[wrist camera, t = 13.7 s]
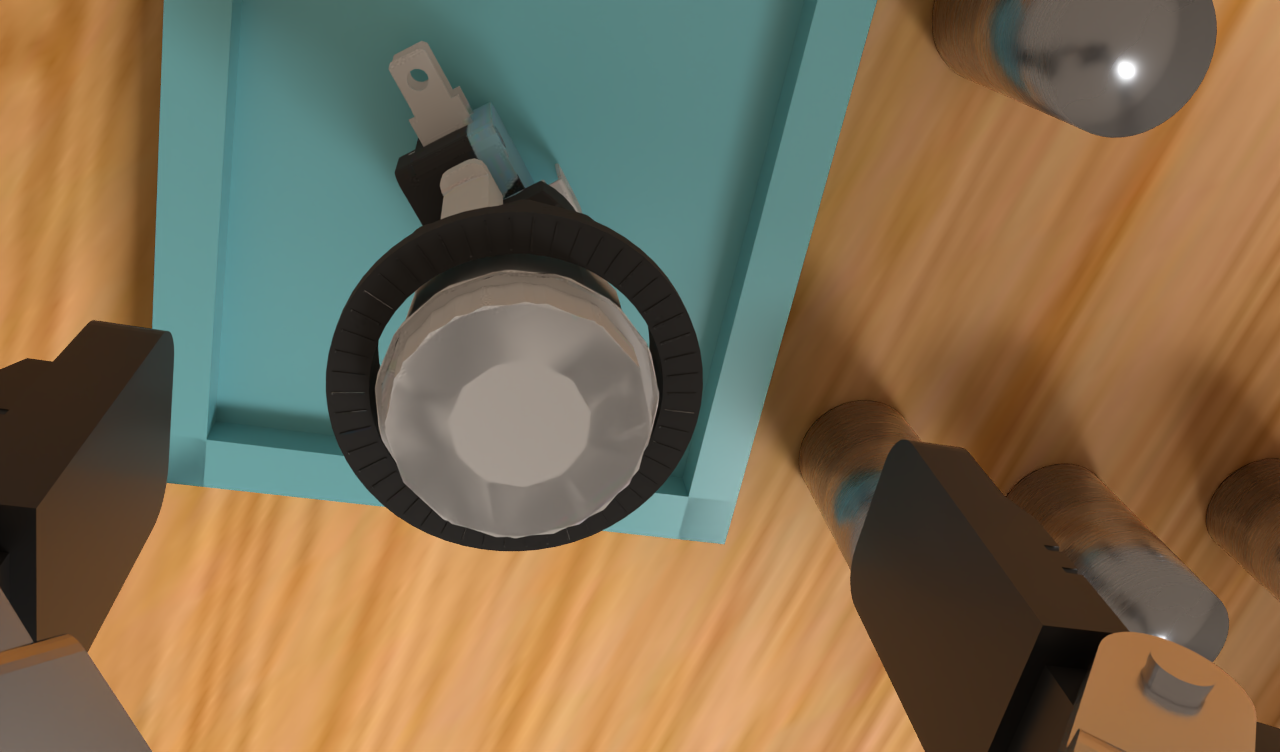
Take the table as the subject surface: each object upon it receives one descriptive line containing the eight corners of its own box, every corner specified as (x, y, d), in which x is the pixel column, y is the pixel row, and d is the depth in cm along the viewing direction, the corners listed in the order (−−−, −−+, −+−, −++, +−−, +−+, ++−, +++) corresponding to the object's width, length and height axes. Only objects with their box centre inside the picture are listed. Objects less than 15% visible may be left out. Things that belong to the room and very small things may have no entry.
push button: (297, 102, 22) (168, 262, 13) (531, -19, 22) (562, 60, 13) (459, 365, 25) (444, 645, 16) (668, 263, 25) (774, 490, 16)
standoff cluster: (1536, 62, 26) (1783, 109, 21) (1265, 585, 32) (1409, 717, 27) (957, -76, 23) (1087, -60, 18) (776, 529, 29) (836, 666, 24)
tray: (888, -131, 22) (913, -131, 21) (713, 511, 28) (724, 543, 27) (195, -302, 20) (174, -315, 18) (165, 448, 26) (147, 480, 24)
